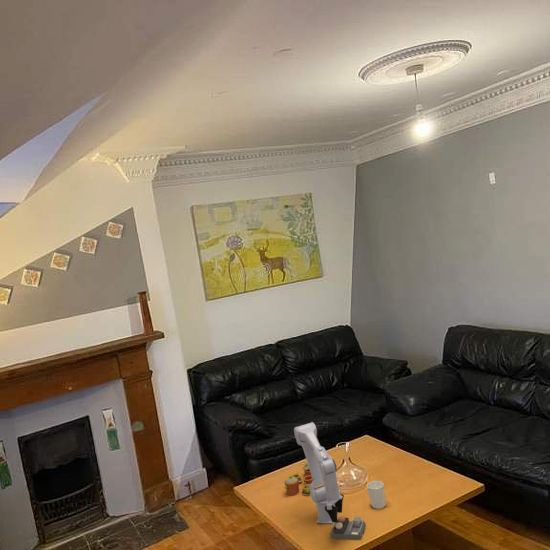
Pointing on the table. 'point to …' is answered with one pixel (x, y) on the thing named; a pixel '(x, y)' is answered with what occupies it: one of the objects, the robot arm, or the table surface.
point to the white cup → (376, 494)
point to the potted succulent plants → (295, 480)
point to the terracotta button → (342, 519)
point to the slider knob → (357, 521)
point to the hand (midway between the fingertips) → (337, 516)
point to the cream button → (339, 526)
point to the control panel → (348, 530)
